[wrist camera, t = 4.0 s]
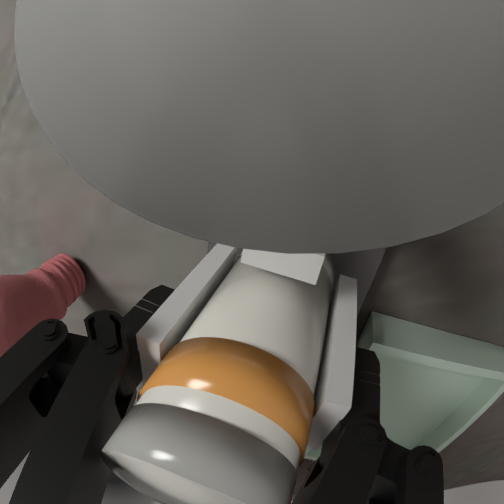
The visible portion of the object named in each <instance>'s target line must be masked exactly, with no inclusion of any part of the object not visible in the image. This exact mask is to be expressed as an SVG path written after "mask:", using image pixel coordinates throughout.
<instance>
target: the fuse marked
mask: <svg viewBox="0 0 504 504" xmlns="http://www.w3.org/2000/svg"><path fill="white" fill-rule="evenodd" d="M241 257H242V252H241V254H240V255H239V256H238V258H237V260H236V261H235V263H234V266H233V267H232V268H231V270H230V271H229V273H228V274H227V275H226V277H225V278H224V280H223V281H222V282H221V284H220V285H219V287H218V288H217V289H216V291H215V292H214V294H213V295H212V297H211V298H210V299H209V301H208V302H207V304H206V305H205V306H204V308H203V309H202V311H201V312H200V314H199V315H198V316H197V318H196V319H195V321H194V322H193V323H192V325H191V326H190V328H189V329H188V331H187V332H186V333H185V335H184V336H183V338H182V339H181V341H180V342H179V343H178V344H176V345H175V346H173V347H172V348H171V349H170V350H169V351H168V353H167V354H166V356H165V357H164V358H163V360H162V361H161V363H160V364H159V365H158V367H157V368H156V370H155V371H154V372H153V374H152V375H151V377H150V378H149V379H148V381H147V382H146V384H145V385H144V386H143V388H142V389H141V391H140V392H139V394H138V398H137V403H136V405H135V406H133V407H132V408H131V409H130V410H129V411H128V413H127V414H126V416H125V417H124V418H123V420H122V421H121V423H120V424H119V426H118V427H117V428H116V430H115V431H114V433H113V434H112V436H111V437H110V438H109V440H108V441H107V443H106V444H105V446H104V447H103V449H102V450H101V452H100V455H101V458H102V460H103V461H104V462H105V464H106V465H107V466H108V467H109V468H110V469H111V470H112V471H113V472H114V473H115V474H116V475H117V476H119V477H120V478H121V479H122V480H124V481H125V482H126V483H127V484H129V485H130V486H132V487H133V488H135V489H136V490H138V491H139V492H141V493H142V494H144V495H146V496H147V497H149V498H151V499H153V500H154V501H156V502H158V503H160V504H290V500H291V497H292V493H293V490H294V486H295V482H296V479H297V472H296V471H297V468H298V467H299V466H300V465H301V463H302V462H303V459H304V456H305V451H306V447H307V443H308V439H309V434H310V430H311V425H312V420H313V415H314V411H315V400H314V393H315V388H316V383H317V377H318V372H319V367H320V361H321V355H322V349H323V343H324V337H325V331H326V325H327V318H328V311H329V304H330V301H331V298H332V290H333V282H334V266H333V262H332V259H331V256H330V254H329V253H325V258H324V261H323V264H322V267H321V270H320V273H319V276H318V279H317V282H316V285H313V284H310V283H307V282H303V281H300V280H297V279H294V278H290V277H287V276H284V275H280V274H277V273H274V272H270V271H267V270H264V269H261V268H257V267H254V266H251V265H248V264H244V263H241Z"/></svg>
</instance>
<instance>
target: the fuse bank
mask: <svg viewBox="0 0 504 504" xmlns="http://www.w3.org/2000/svg"><path fill="white" fill-rule="evenodd" d="M216 244H217V243H214V242H210V241H209V244H208V253H209V252H210V251H211V250H212V249H213V247H214V246H215V245H216ZM386 248H387V247H384V248H377V249H369V250H362V251H354V252H346V253H329V254H330V256H331V259H332V262H333V266H334V282H333V290H332V295H333V292H334V290H335V287H336V284H337V282H338V279H339V276H340V274H341V275H344V276H347V277H351V278H354V279H357V315H358V313H359V311H360V309H361V307H362V305H363V302H364V300H365V298H366V296H367V294H368V291H369V289H370V287H371V284H372V282H373V280H374V277H375V275H376V273H377V270H378V268H379V266H380V263H381V261H382V258H383V256H384V253H385V251H386ZM241 252H242V257H241V263H244V264H248V265H251V266H254V267H257V268H261V269H264V270H267V271H270V272H274V273H277V274H280V275H284V276H287V277H290V278H294V279H297V280H300V281H303V282H307V283H310V284H313V285H316V282H317V279H318V276H319V273H320V270H321V267H322V264H323V261H324V258H325V253H316V254H286V253H277V252H268V251H259V250H250V249H241V248H237V250H236V256H235V261H236V260H237V258H238V256H239V255H240V254H241ZM208 253H207V254H208ZM234 263H235V262H234Z"/></svg>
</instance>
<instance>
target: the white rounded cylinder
mask: <svg viewBox="0 0 504 504" xmlns="http://www.w3.org/2000/svg"><path fill="white" fill-rule="evenodd" d="M14 41H15V51H16V60H17V66H18V71H19V75H20V79H21V83H22V86H23V90H24V93H25V95H26V98H27V100H28V103H29V105H30V108H31V110H32V112H33V115H34V117H35V118H36V120H37V122H38V124H39V125H40V127H41V129H42V130H43V132H44V134H45V135H46V137H47V139H48V140H49V141H50V143H51V144H52V145H53V147H54V148H55V149H56V150H57V152H58V153H59V154H60V155H61V157H62V158H63V159H64V160H65V162H66V163H67V164H68V165H69V166H71V167H72V168H73V169H74V170H75V171H76V172H77V173H78V174H79V175H80V176H81V177H82V178H83V179H84V180H85V181H86V182H87V183H89V184H90V185H91V186H93V187H94V188H95V189H97V190H98V191H99V192H101V193H102V194H104V195H105V196H107V197H108V198H109V199H111V200H112V201H114V202H115V203H116V204H118V205H120V206H122V207H124V208H125V209H127V210H129V211H131V212H133V213H135V214H137V215H139V216H141V217H142V218H144V219H146V220H148V221H150V222H152V223H155V224H157V225H160V226H163V227H166V228H168V229H171V230H174V231H176V232H179V233H182V234H184V235H187V236H190V237H193V238H197V239H201V240H205V241H210V242H214V243H218V244H222V245H227V246H231V247H235V248H241V249H250V250H259V251H268V252H277V253H286V254H316V253H346V252H354V251H362V250H369V249H377V248H384V247H392V246H396V245H400V244H404V243H407V242H411V241H415V240H418V239H422V238H426V237H429V236H433V235H437V234H440V233H443V232H446V231H448V230H450V229H453V228H455V227H457V226H460V225H462V224H464V223H466V222H469V221H471V220H473V219H475V218H478V217H480V216H482V215H484V214H487V213H488V212H490V211H491V210H493V209H494V208H496V207H498V206H499V205H501V204H502V203H504V0H17V4H16V11H15V32H14Z"/></svg>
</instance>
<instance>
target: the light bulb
mask: <svg viewBox="0 0 504 504" xmlns="http://www.w3.org/2000/svg"><path fill="white" fill-rule="evenodd" d="M85 286H86V283H85V277H84V274H83V272H82V270H81V268H80V267H79V265H78V264H77V262H76V261H75V260H74V259H73V258H71V257H70V256H68V255H66V254H58V255H57V256H56V257H54V258H53V259H50V260H48V261H47V262H46V263H44V264H42V266H41V267H40V269H39V268H35V269H32V270H31V271H30V272H29V273H28V274H25V275H2V276H0V357H1V356H2V355H3V354H4V353H5V352H6V351H8V350H9V349H10V348H11V347H12V346H13V345H14V344H15V343H16V342H17V341H19V340H20V339H21V338H22V337H23V336H24V335H25V334H26V333H27V332H29V331H30V330H31V329H32V328H33V327H34V326H35V325H37V324H38V323H40V322H41V321H43V320H47V319H58V320H60V319H62V318H63V317H64V316H65V314H66V311H67V307H69V306H70V305H71V304H72V303H73V302H74V301H75V300H76V299H77V298H78V297H79V295H80V294H81V293H83V291H84V290H85Z"/></svg>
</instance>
